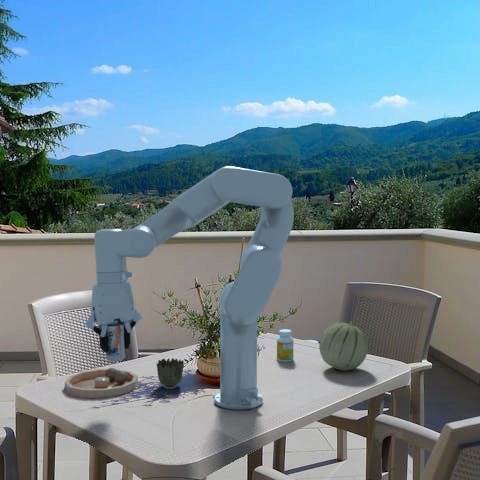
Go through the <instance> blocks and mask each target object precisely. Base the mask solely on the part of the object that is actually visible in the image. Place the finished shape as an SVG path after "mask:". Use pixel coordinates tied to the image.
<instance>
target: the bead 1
mask: <svg viewBox="0 0 480 480" xmlns="http://www.w3.org/2000/svg"><path fill="white" fill-rule="evenodd" d="M107 369H108V370H107V371H106V372H105V377H108V378H109V381H113V380H115V379H114V376H115V374H116V373H117V370H116V369H117V368H115V367H109V368H107Z"/></svg>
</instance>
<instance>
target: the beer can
mask: <svg viewBox="0 0 480 480" xmlns="http://www.w3.org/2000/svg"><path fill="white" fill-rule="evenodd" d="M106 336H107V337H108V352H105V359H106V360H107V361H109V362H112V363H114V362H115V363H116V362H121V361H123V360H125V358H126V348H125V339H124V322H121V320H120V319H119V318H118V317H116V318H114V321H113V323H111V324H108V325H107V330H106Z"/></svg>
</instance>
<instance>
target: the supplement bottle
mask: <svg viewBox="0 0 480 480" xmlns="http://www.w3.org/2000/svg"><path fill="white" fill-rule="evenodd" d="M278 335H279V336H278V337H277V338H276V360H277V361H279V362H281V363H289V362H290V363H291V362H293V361H294V337H292V330H291V329H285V328H284V329H283V328H282V329H280V330H278Z"/></svg>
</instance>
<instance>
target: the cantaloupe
mask: <svg viewBox="0 0 480 480" xmlns="http://www.w3.org/2000/svg"><path fill="white" fill-rule="evenodd" d="M368 343H369V342H368V339H367V337H366V335H365V333H364V332H363V331H362V330H361V329H360V328H358V326H355V325H354V322H353V320H351V321H350V322H349V323H348V322H335V323H332V324H331V325H329V326H328V327H327V328H326V329H324V331H323V333H322V334H321V336H320V339H319V345H318V347H319V353H320V356H321V358H322V360H323V361H324V362H325V363H326V364H327V365H329V366H330V367H332V368H333V369H335V370H338V371H339V370H340V371H344V372H345V371H351V370H354V369H356V368H358V367H360V366H361V365H362V364H363V363H364V361H365V359H366V358H367V355H368V349H369V345H368Z"/></svg>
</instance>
